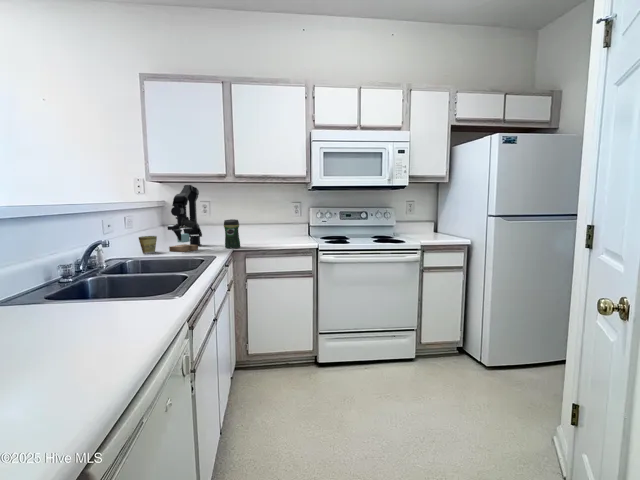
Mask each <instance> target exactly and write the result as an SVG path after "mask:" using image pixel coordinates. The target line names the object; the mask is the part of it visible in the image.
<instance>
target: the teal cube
mask: <svg viewBox="0 0 640 480" xmlns="http://www.w3.org/2000/svg"><path fill="white" fill-rule="evenodd" d="M176 238H177V237H176ZM176 240H177V243H181V244H182V243H183V244H185V243H190V237H189V234H184V233H181V241H179V239H178V238H177V239H176Z"/></svg>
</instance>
